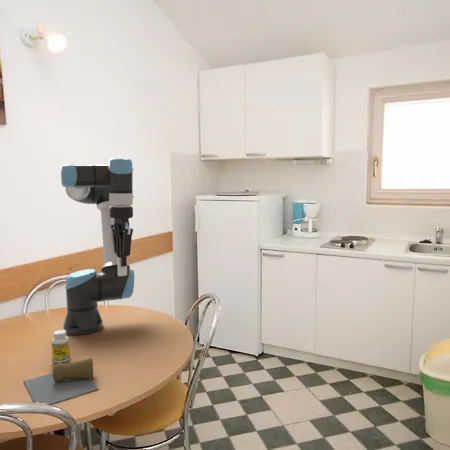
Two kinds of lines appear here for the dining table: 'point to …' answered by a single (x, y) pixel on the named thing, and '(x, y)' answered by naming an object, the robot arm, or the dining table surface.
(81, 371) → the cork
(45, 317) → the dining table surface
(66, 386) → the mat
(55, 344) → the supplement bottle
